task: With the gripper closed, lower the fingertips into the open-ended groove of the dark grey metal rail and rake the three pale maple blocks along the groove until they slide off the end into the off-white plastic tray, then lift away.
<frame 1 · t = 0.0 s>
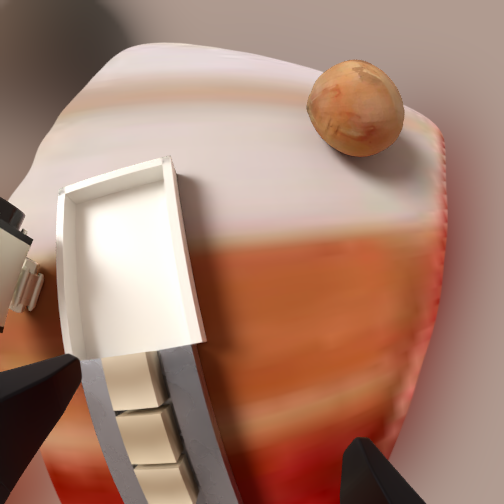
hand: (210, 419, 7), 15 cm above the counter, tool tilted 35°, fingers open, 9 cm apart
block a: (172, 474, 17), point 1 cm above the counter, touching slot rail
block b: (156, 429, 19), point 1 cm above the counter, touching slot rail
onion: (343, 138, 29), on the counter
pneumatic valve: (30, 286, 23), on the counter
slot rail: (171, 460, 19), on the counter
block c: (141, 377, 20), point 1 cm above the counter, touching slot rail
tray: (126, 263, 24), on the counter
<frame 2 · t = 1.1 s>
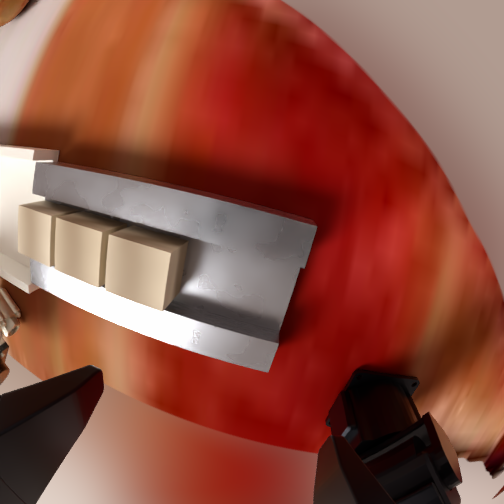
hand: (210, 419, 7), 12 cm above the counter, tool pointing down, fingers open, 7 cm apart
block a: (155, 259, 18), point 1 cm above the counter, touching slot rail
block b: (101, 241, 18), point 1 cm above the counter, touching slot rail
onion: (24, 4, 14), on the counter
pneumatic valve: (11, 307, 23), on the counter
slot rail: (148, 251, 19), on the counter
block c: (58, 227, 18), point 1 cm above the counter, touching slot rail
tray: (4, 203, 20), on the counter
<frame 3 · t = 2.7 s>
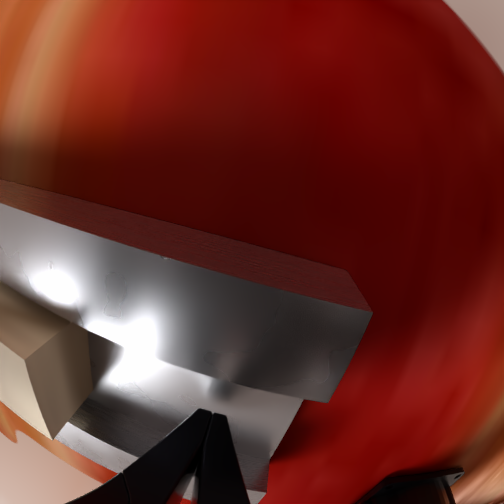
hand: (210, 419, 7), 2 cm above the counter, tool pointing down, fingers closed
block a: (48, 333, 8), point 1 cm above the counter, touching slot rail
slot rail: (46, 312, 9), on the counter
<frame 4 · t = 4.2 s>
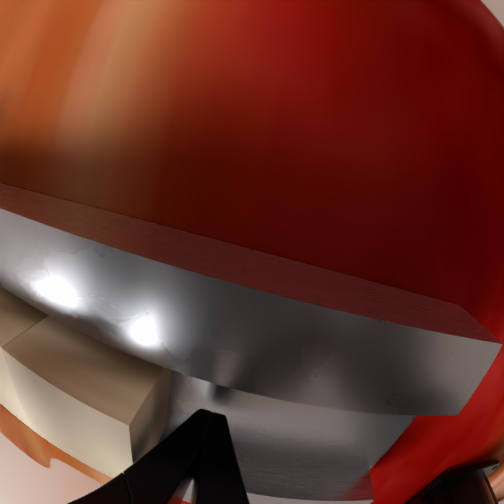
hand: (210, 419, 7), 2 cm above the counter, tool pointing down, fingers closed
block a: (114, 371, 8), point 1 cm above the counter, touching block b, gripper
block b: (32, 326, 8), point 1 cm above the counter, touching block a
slot rail: (132, 357, 9), on the counter
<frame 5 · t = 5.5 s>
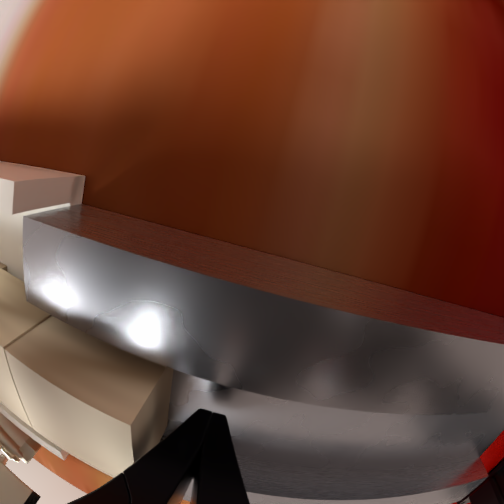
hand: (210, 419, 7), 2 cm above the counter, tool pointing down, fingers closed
block a: (115, 371, 8), point 1 cm above the counter, touching gripper, slot rail
block b: (33, 326, 8), point 1 cm above the counter, touching block c
pneumatic valve: (20, 415, 13), on the counter
slot rail: (338, 411, 9), on the counter
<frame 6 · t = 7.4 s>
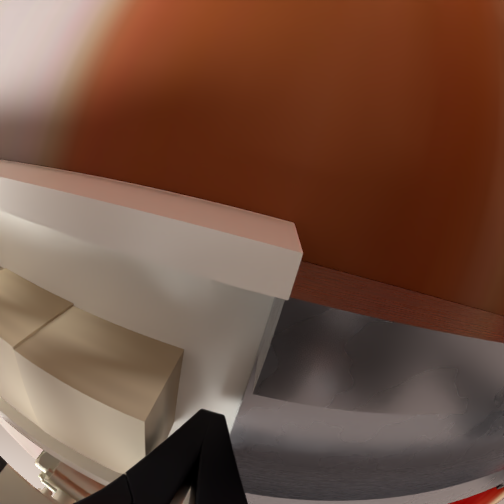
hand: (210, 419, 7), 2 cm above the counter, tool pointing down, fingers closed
block a: (123, 370, 8), point 1 cm above the counter, touching block b, gripper, tray
block b: (39, 325, 8), point 1 cm above the counter, touching block a, block c, tray
pneumatic valve: (85, 460, 12), on the counter
slot rail: (461, 415, 8), on the counter
tray: (49, 319, 9), on the counter
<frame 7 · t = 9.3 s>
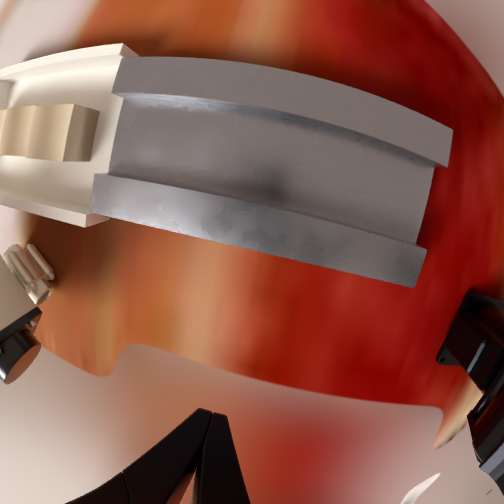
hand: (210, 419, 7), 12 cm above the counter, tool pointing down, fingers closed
block a: (74, 135, 16), point 1 cm above the counter, touching block b, tray
block b: (41, 133, 16), point 1 cm above the counter, touching block a, block c, tray
pneumatic valve: (38, 271, 20), on the counter
slot rail: (270, 159, 16), on the counter
block c: (15, 134, 16), point 1 cm above the counter, touching block b, tray
tray: (46, 132, 17), on the counter
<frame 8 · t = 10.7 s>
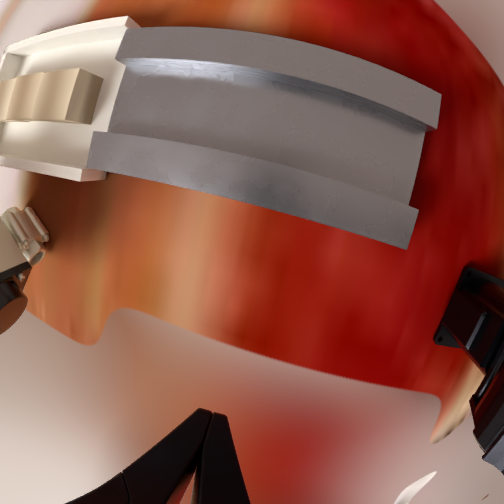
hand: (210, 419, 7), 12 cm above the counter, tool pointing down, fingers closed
block a: (78, 101, 16), point 1 cm above the counter, touching block b, tray
block b: (47, 100, 16), point 1 cm above the counter, touching block a, block c, tray
pneumatic valve: (34, 235, 20), on the counter
slot rail: (261, 121, 16), on the counter
block c: (22, 103, 17), point 1 cm above the counter, touching block b, tray
tray: (52, 101, 17), on the counter
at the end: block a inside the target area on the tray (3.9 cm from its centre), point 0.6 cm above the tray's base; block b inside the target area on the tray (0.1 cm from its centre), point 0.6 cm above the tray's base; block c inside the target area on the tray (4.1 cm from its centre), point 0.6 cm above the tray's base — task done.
